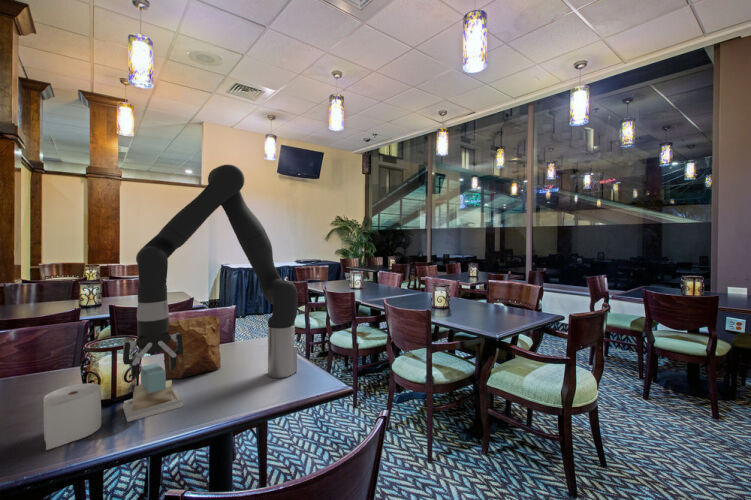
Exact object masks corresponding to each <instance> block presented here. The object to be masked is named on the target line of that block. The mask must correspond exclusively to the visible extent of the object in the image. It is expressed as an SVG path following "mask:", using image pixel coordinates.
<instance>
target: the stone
mask: <svg viewBox="0 0 751 500" xmlns="http://www.w3.org/2000/svg"><path fill="white" fill-rule="evenodd" d="M220 324H221V323H220V318H219V317H217V316H216V315H215V316H214V315H202V316H198V317H190V318H186V319H179V320H176V321H169V334H170V335H173V334H176V333H180V334H181V335H182V344H183V353H182V354H179V355H177V356H176V367H175V368H174V370H172V371H171V370H170V368H169V357H170V355H169V354H168V353H167V352H166V351H165V350H163V359H164V360H163V363H164V370H165V371H166V379H171V380H174V379H175V380H176V379H178V380H179V379H184V378H190V377H194V376H196V375H197V376H198V375H200V374H201V375H202V374H203V373H207V372H211V371H215V370H217V369H220V368H221V367H222V366H221V351H220V341H221V340H220V329H221V328H220V326H221V325H220ZM167 346H168V347H169V348H170V349H172V350H173V351H175V350H177V348H176V342H175V341H174V340H173V339H171V340H170V342H169V343H168V344H167Z"/></svg>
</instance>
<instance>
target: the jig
mask: <svg viewBox="0 0 751 500" xmlns="http://www.w3.org/2000/svg"><path fill="white" fill-rule="evenodd" d="M122 407H123V412H124V416H125V418H126V422H128V423H129V422H132V421H136V420H139V419H143V418H146V417H150V416H154V415H157V414H161V413H165V412H169V411H171V410H176V409H179V408H182V407H184V402H183V398H182V397H181V396H180V395H179V393H178V391H177V390H176V388H172V401H169V402H165V403H161V404H158V405H154V406H150V407H146V408H142V409H138V410H135V411H133V398H131V399H127V400H124V401H123V404H122Z"/></svg>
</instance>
